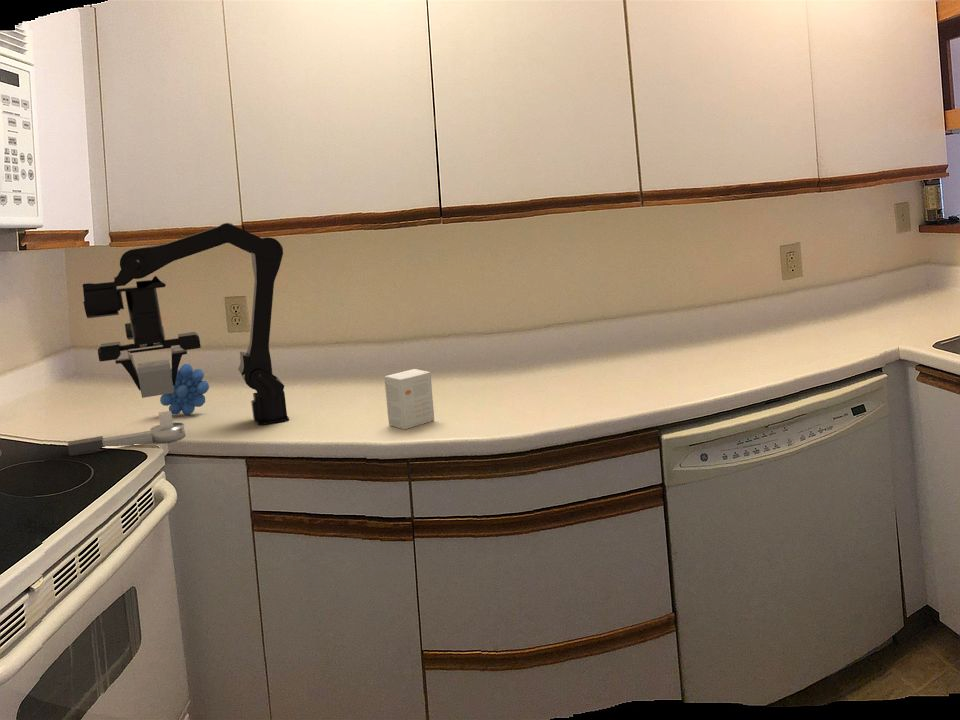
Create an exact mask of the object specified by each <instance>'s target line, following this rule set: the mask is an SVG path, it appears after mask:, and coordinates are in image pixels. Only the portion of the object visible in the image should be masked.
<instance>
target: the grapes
mask: <svg viewBox="0 0 960 720" xmlns="http://www.w3.org/2000/svg"><path fill="white" fill-rule="evenodd" d="M193 369H194V368H193V366H192V365H191V364H190V363H184V364H182V365H181V366H180V368H178V371H177V377H176V383H175V385H174V393H171V394H164V395H160V396H161V397H160V398H159V402H160V404H161V405H162V406H167V407H168V406H169V407H168V411H171V414H172V415H179V414H180V413H182V414H183V415H185V416H190V415H192V414H193V413H194V411H195V408H200V407H202V406H203V405H204V404H205V403H206V396H205V395H204V394H207V392H208V391H209V390H210V385H209V382H207V380H203V379H204V378H205V373H204V371H203V370H202V369H201V368H195V369H194V370H193ZM171 374H172V368H171Z"/></svg>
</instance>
